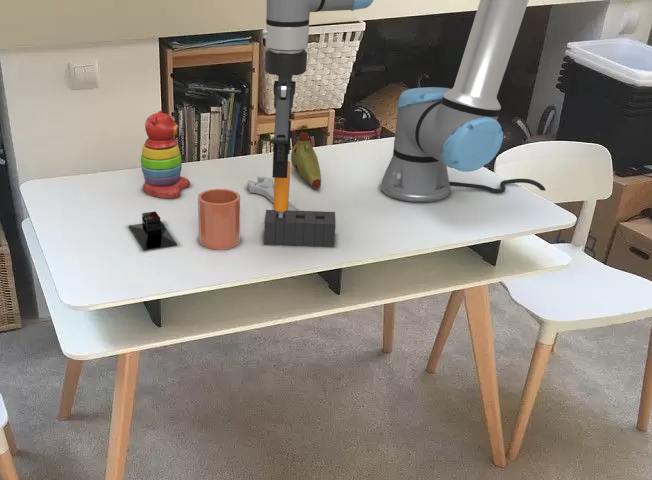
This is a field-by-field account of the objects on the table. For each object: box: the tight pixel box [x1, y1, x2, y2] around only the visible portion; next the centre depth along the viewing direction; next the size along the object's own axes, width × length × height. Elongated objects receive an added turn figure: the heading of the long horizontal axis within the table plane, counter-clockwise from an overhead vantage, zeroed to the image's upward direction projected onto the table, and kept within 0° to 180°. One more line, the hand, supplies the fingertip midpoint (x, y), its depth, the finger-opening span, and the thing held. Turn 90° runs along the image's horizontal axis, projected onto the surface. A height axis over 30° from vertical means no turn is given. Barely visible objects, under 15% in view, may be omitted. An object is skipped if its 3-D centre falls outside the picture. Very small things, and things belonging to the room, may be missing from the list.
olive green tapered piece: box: [290, 131, 322, 190], centre depth 181 cm, size 20×5×10 cm, turn 11°
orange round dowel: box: [272, 160, 291, 218], centre depth 151 cm, size 3×3×16 cm
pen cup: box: [197, 188, 241, 250], centre depth 152 cm, size 8×8×10 cm
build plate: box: [128, 211, 178, 252], centre depth 156 cm, size 12×7×5 cm, turn 19°
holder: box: [263, 209, 337, 248], centre depth 153 cm, size 14×6×5 cm, turn 84°
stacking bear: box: [140, 109, 191, 200], centre depth 174 cm, size 11×10×18 cm
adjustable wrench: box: [247, 176, 301, 211], centre depth 171 cm, size 25×6×2 cm, turn 17°
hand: (281, 165), depth 147 cm, fingers open, 13 cm apart
